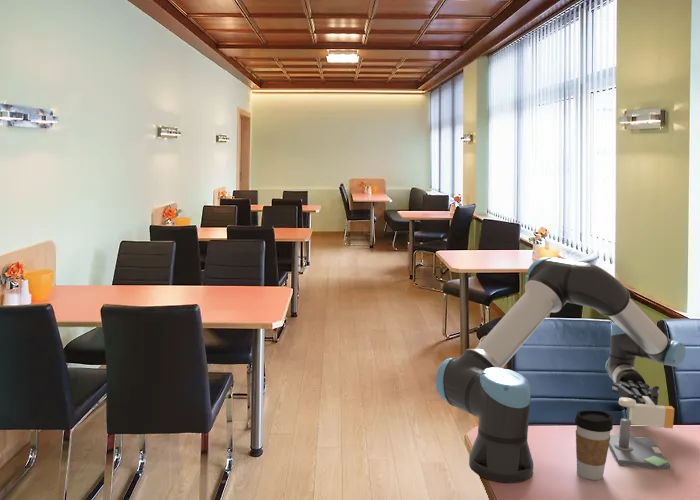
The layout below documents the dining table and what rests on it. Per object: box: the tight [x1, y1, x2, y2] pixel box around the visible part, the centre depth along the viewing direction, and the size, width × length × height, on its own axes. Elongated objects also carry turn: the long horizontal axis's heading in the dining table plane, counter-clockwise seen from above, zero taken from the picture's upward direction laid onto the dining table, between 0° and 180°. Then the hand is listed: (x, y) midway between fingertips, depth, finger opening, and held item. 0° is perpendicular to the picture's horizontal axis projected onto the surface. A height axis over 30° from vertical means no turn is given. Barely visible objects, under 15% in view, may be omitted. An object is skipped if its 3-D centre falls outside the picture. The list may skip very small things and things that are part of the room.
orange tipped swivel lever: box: [618, 397, 675, 448], centre depth 159 cm, size 13×4×12 cm, turn 79°
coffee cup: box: [574, 409, 614, 481], centre depth 147 cm, size 8×8×15 cm
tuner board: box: [608, 433, 671, 471], centre depth 159 cm, size 12×18×2 cm
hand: (651, 409), depth 163 cm, fingers closed
